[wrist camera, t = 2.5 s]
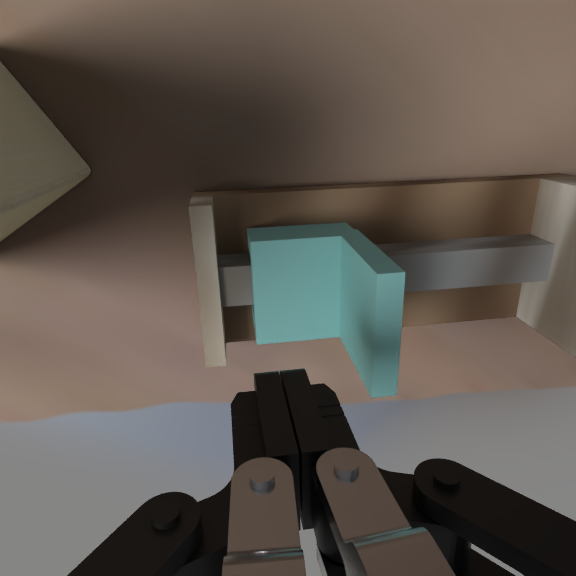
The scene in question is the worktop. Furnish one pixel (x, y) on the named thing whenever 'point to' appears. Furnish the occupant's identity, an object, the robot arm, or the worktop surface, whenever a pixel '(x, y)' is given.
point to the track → (391, 225)
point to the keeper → (329, 295)
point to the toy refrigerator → (31, 158)
